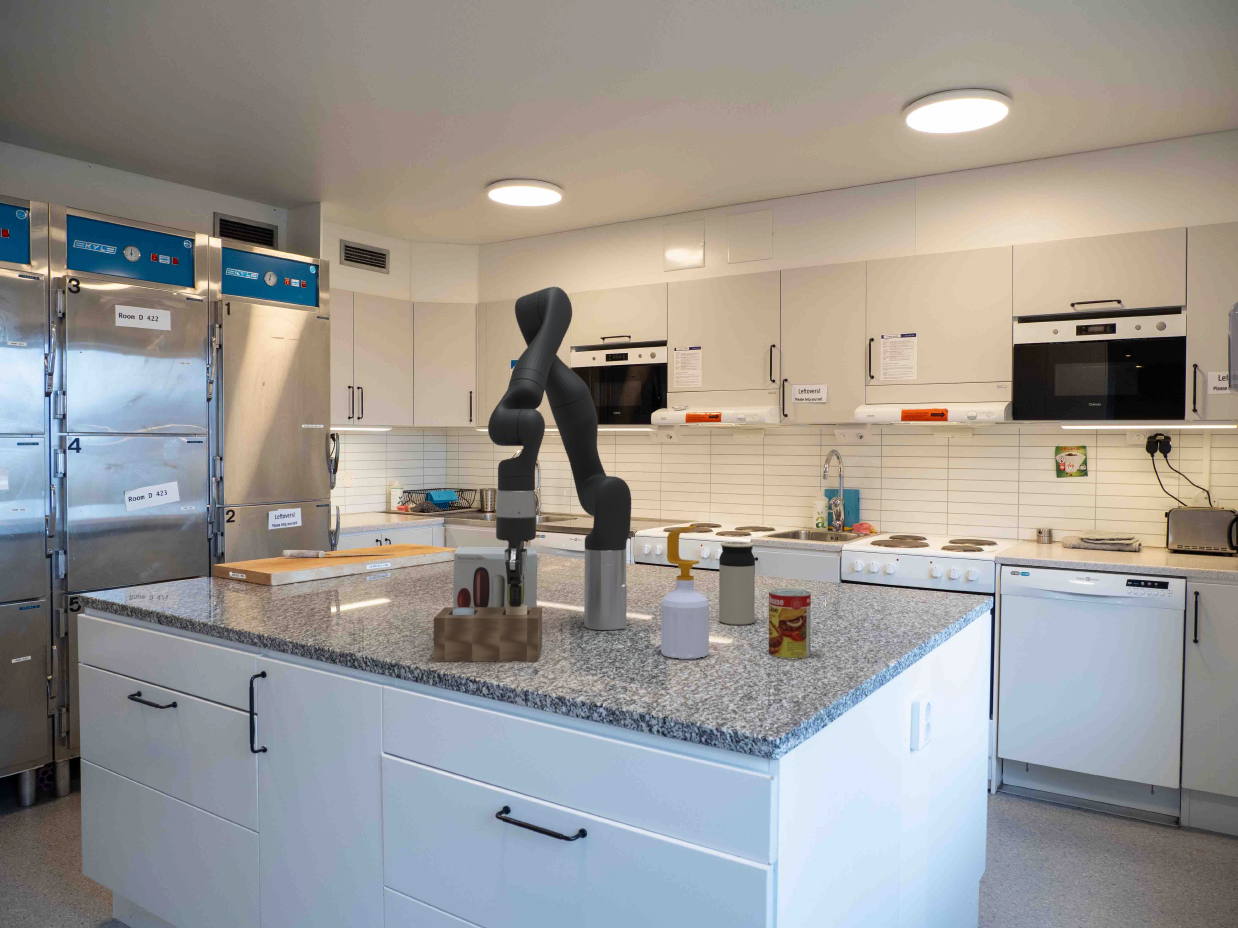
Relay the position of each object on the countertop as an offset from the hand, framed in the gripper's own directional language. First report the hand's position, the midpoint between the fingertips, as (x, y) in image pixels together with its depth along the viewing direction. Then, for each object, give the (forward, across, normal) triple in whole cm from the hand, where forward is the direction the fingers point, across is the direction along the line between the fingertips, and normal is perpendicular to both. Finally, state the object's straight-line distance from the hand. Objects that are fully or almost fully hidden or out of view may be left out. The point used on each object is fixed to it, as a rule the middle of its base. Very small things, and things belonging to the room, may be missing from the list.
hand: (515, 605), depth 159 cm
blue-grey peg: (+8, 0, +10) cm, 13 cm away
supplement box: (+10, +18, +6) cm, 22 cm away
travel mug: (+9, +31, -47) cm, 57 cm away
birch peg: (+8, 0, 0) cm, 8 cm away
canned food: (+9, 0, -52) cm, 53 cm away
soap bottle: (+9, 0, -32) cm, 34 cm away
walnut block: (+9, 0, +5) cm, 10 cm away
